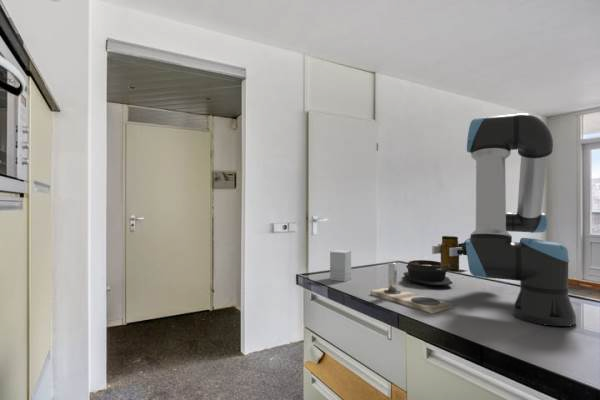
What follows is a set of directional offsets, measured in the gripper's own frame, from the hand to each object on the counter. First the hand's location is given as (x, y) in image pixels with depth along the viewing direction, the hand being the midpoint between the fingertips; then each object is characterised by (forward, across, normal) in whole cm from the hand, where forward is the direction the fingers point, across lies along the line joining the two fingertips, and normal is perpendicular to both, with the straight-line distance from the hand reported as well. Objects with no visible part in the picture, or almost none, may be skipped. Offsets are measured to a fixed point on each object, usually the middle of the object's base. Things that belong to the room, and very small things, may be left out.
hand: (441, 251), depth 119 cm
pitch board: (+9, +7, -18) cm, 21 cm away
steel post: (+9, +14, -18) cm, 24 cm away
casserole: (-21, +21, -17) cm, 34 cm away
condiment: (-5, -1, -7) cm, 9 cm away
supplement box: (+7, +45, -17) cm, 49 cm away
